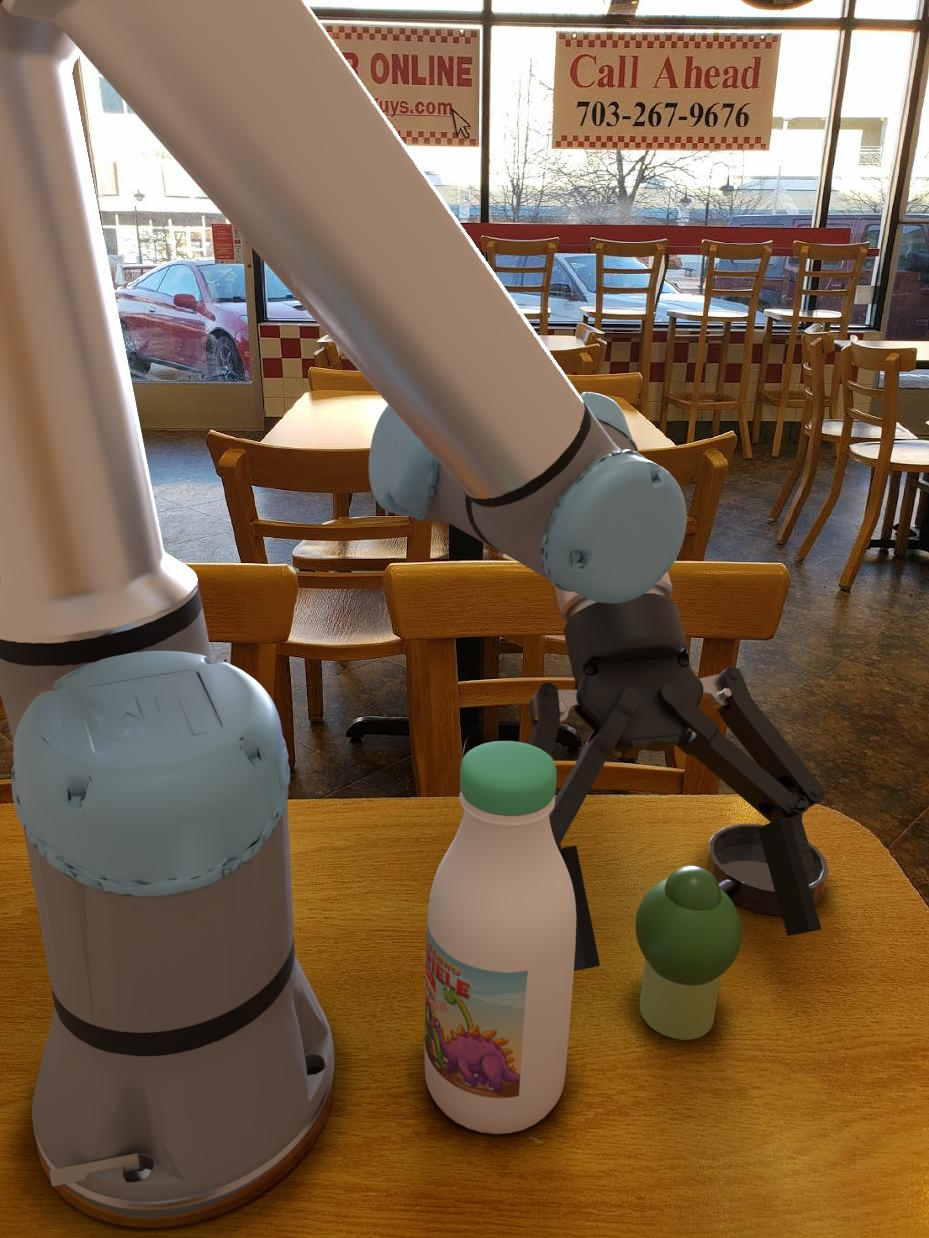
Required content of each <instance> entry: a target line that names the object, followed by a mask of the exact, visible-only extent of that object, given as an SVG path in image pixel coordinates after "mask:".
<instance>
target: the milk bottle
mask: <svg viewBox="0 0 929 1238" xmlns="http://www.w3.org/2000/svg"><path fill="white" fill-rule="evenodd" d="M459 769H460V771H459V788H460V792H459V802H460V805H461V807H462V809H463V814H462V819H461V821H460V824H459V826H458V828H457V829H458V830H457V832H456V834H455V836H454V839H453V840H452V842H451V844H450V845H449V847H448V849H447V850H446V852H445V854H444V856H443V858H442V859H441V862H440V863H439V865H438V868H437V870H436V873H435V875H434V878H433V881H432V885H431V888H430V892H429V893H430V894H429V899H428V906H427V916H426V917H427V918H426V934H425V935H426V937H425V977H424V978H425V981H424V983H425V984H424V985H425V986H424V1077H425V1082H426V1086H427V1088H428V1091H429V1093H430V1095H431V1098H432V1099H433V1100H434V1102H435V1104H436V1106H437V1107H438V1108H440V1110H441V1111H442V1112H443V1113H444V1115H446V1116H447V1117H448V1118H449V1119H451V1120H452V1121H454V1122H455V1123H456V1124H458V1125H461V1126H463V1127H465V1128H467V1129H468V1130H472V1131H476V1132H479V1133H484V1134H492V1135H501V1134H511V1133H516V1132H520V1131H523V1130H526V1129H528V1128H530V1127H532V1126H534V1125H536V1124H537V1123H539V1122H540V1121H541V1120H543V1119H545V1117H547V1115H549V1113H550V1112H551V1111H552V1110H553V1109H554V1107H555V1106H556V1104H557V1103H558V1102H559V1100H560V1098H561V1096H562V1093H563V1091H564V1085H565V1079H566V1071H567V1061H568V1050H569V1036H570V1025H571V1013H572V1012H571V1011H572V1000H573V998H572V997H573V987H574V986H573V985H574V984H573V983H574V972H575V971H574V959H575V944H576V905H575V896H574V890H573V885H572V882H571V878H570V875H569V872H568V870H567V867H566V865H565V862H564V860H563V858H562V856H561V854H560V852H559V850H558V847H557V845H556V843H555V840H554V837H553V833H552V830H551V825H550V820H549V814H550V813H551V811H552V810H553V808H554V805H555V799H556V797H555V794H556V789H557V782H558V781H557V779H558V778H557V777H558V776H557V773H558V772H557V766H556V763H555V760H554V759H553V757H552V755H551V756H550V755H549V754H547V753H546V752H544V751H543V750H541V749H539V748H537V747H535V746H532V745H529V744H527V743H526V742H521V741H515V740H497V741H489V742H485V743H481V744H480V745H476V746H475V747H473V748H472V749H470V750H468V751H467V752H466V753H465V755H464V756H463V757H462V760H461V763H460V768H459Z"/></svg>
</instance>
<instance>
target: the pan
mask: <svg viewBox="0 0 929 1238" xmlns="http://www.w3.org/2000/svg"><path fill="white" fill-rule="evenodd" d="M764 825H765V824H760V823H737V824H733V825H729V826H725V827H723V828H721V829H719V830H718V831H716V832H715V833H713V835H712V836H711V838H710V840H709V841H708V845H707V851H706V852H707V853H706V858H705V859H706V860H705V870H707V871H708V872H710V873H711V874H712V875H713V876H714V877H715V879H716V880H717V882H718V884H720V883H721V882H723V881H724V880H732V881H734V882H735V883H736V885H737V893H736V895H735V896H733V897H732V898H730V899H731V901H732V902H733V904H734V905H737V906H738V907H741V908H743V909H745V910H748V911H752V912H755V913H759V914H764V915H769V916H781V917H782V915H781V911H780V908H779V904H778V900H777V897H776V893H775V889H774V886H773V882H772V878H771V875H770V871H769V868H768V864H767V860H766V857H765V853H764V849H763V846H762V842H761V838H760V835H759V831H758V828H759V827H761V826H764ZM808 843H809V846H810V850H811V853H812V857H813V860H814V866H813V870H811V871H808V872H805V873H806V876H807V880H808V883H809V887H810V890H811V894H812V897H813V901H814V904H815V907H817V906H818V905H819V904H820V903H821V901H822V899H823V897H824V892H825V889H826V885H827V880H828V875H829V868H828V863H827V859H826V858H825V856H824V855H823V853H822V852H821V851H820V849H819V848H817V847H816V846H815V845H814V844H812V843H811V842H810V841H808Z"/></svg>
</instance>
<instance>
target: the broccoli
mask: <svg viewBox="0 0 929 1238" xmlns="http://www.w3.org/2000/svg"><path fill="white" fill-rule="evenodd" d="M634 924H635V930H634V931H635V937H636V941H637V944H638V947H639V949H640V951H641V953H642V955H643V957H644V965H643V973H642V983H641V988H640V989H641V991H640V997H639V1011H640V1014H641V1017H642V1018H643V1020H644V1021H645V1022H646V1024H647V1025H648V1026H649V1027H650V1028H651V1029H652V1030H654V1031H655V1032H657V1033H658V1034H660V1035H662V1036H664V1037H667V1038H670V1039H674V1040H680V1041H689V1040H690V1041H691V1040H695V1039H699V1038H701V1037H704V1036H705V1035H706V1034H708V1033H709V1032H710V1030H711V1029H712V1028H713V1025H714V1022H715V1015H716V1009H717V1003H718V998H719V991H720V984H721V978H722V975H723V974H725V973H726V972H727V971H728V970H729V969H730V968H731V966H733V964H734V962H735V961H736V959H737V957H738V954H739V952H740V949H741V944H742V937H743V932H742V931H743V930H742V929H743V928H742V923H741V918H740V915H739V912H738V910H737V907H736V906H735V903H733V902H732V901H731V899H730V898H729V897H728V896H727V894H726V893H725V892H724V891H723V890H722V889H720V886H719V884H718V882H717V880H716V879H715V877H714V876H713V875H712V874H711V873H710V872H708V871H707V870H706V868H703V867H700V866H698V865H684V866H681V867H679V868H677V869H675V870H673V872H672V873H670V875H669V876H668V877H666V878H664V879H662V880H660V881H659V882H657V883H656V884H655V885H653V886H651V888H649V890H648V891H647V892H646V893H645V894H644V896H643V898H642V899H641V901H640V902H639V905H638V907H637V910H636V916H635V923H634Z"/></svg>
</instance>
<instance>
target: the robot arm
mask: <svg viewBox="0 0 929 1238" xmlns="http://www.w3.org/2000/svg"><path fill="white" fill-rule="evenodd" d="M81 54H83V55H84V56H85V57H86V59H87V60H88V61H89V62H90V63H91V64H92V65H93V67H94V68H95V69H96V70H97V72H99V74H100V75H101V76H102V77H103V78H104V79H105V81H106V82H107V83H108V84H109V85H110V86H111V88H113V90H114V91H115V92H116V93H117V94H118V95H119V96H120V98H121V99H122V100H123V101H124V102H125V104H126V105H127V106H128V107H129V108H130V109H131V110H132V111H133V113H134V114H135V115H136V116H137V117H138V118H139V120H140V121H141V122H142V123H143V124H144V125H145V127H146V128H147V129H148V130H149V131H150V132H151V134H152V135H153V136H154V137H155V138H156V139H157V140H158V141H159V142H160V144H161V145H162V146H163V147H164V148H165V150H167V152H168V153H169V154H170V156H172V157H173V159H174V160H175V161H176V162H177V163H178V164H179V165H180V167H181V168H182V169H183V170H184V171H185V173H187V175H188V176H189V178H191V179H192V180H193V181H194V183H195V184H196V185H197V186H198V187H199V189H200V190H201V191H202V192H203V193H204V194H205V195H206V197H207V198H208V199H209V200H210V201H211V202H212V204H213V205H214V206H215V207H216V208H217V210H218V211H220V213H221V214H222V215H223V216H224V217H225V218H226V220H227V221H228V222H229V223H230V224H231V225H232V226H233V228H234V229H235V230H236V231H237V233H239V234H240V236H241V237H242V238H243V239H244V240H245V241H246V243H247V244H248V245H249V246H250V247H251V248H252V249H253V251H254V252H255V253H256V254H257V255H258V256H259V258H260V259H261V260H262V261H263V262H264V264H265V265H266V266H267V267H268V268H269V269H270V270H271V271H272V273H273V274H274V275H275V276H276V277H277V278H278V280H279V281H280V282H281V283H282V284H283V285H284V286H285V288H286V289H287V290H288V291H289V292H290V293H291V294H292V295H293V297H294V298H295V299H296V300H297V302H298V303H299V304H300V305H301V306H302V307H303V308H304V309H305V311H306V312H307V313H308V314H309V315H310V316H311V317H312V319H314V321H315V322H316V323H317V324H318V325H319V326H320V328H321V329H322V330H323V332H325V334H326V335H327V336H328V337H329V338H330V339H331V340H332V341H333V343H334V344H335V345H336V346H337V347H338V349H340V351H341V352H342V353H343V354H344V355H345V356H346V358H347V359H348V360H349V361H350V362H351V363H352V364H353V366H354V367H355V368H356V369H357V370H358V372H360V374H361V375H362V376H363V377H364V378H365V380H366V381H367V382H368V383H369V384H370V385H371V386H372V387H373V389H374V390H375V391H376V392H377V393H378V394H379V396H380V397H381V398H382V399H383V400H384V402H386V404H387V406H386V407H385V408H384V410H383V411H382V412H381V414H380V416H379V418H378V420H377V423H376V425H375V427H374V431H373V432H372V433H373V434H372V438H371V443H370V448H369V455H368V479H369V480H368V481H369V485H370V488H371V492H372V495H373V497H374V499H375V501H376V502H377V504H378V505H379V507H381V509H383V510H385V511H386V512H388V513H391V514H395V515H399V516H406V517H410V518H414V519H415V520H416V521H419V522H423V521H425V520H428V521H438V522H442V523H446V524H449V525H452V526H453V527H455V528H457V529H459V530H460V531H462V532H463V533H466V534H467V535H469V536H471V537H472V538H474V539H476V540H478V541H479V542H482V543H483V544H485V545H486V546H489V547H491V549H492V548H493V549H495V550H497V551H499V552H501V553H503V554H504V555H506V556H507V557H509V558H511V559H513V560H515V561H516V562H518V563H519V564H521V565H523V566H525V567H527V568H528V569H529V570H531V571H533V572H535V573H537V574H538V575H540V576H541V577H543V578H545V579H547V580H548V581H550V582H551V584H552V585H553V586H554V591H555V595H556V599H557V605H558V610H559V614H560V617H561V618H562V620H563V621H564V622H565V623H566V624H565V625H564V627H563V635H564V640H565V645H566V649H567V654H568V658H569V664H570V668H571V674H572V676H573V679H574V689H565V688H564V689H561V688H559V689H558V688H557V686H556V685H555V684H553V682H543V683H542V684H540V686H539V687H538V688H537V690H536V691H535V693H534V694H533V696H532V697H530V698H531V699H530V700H529V717H530V729H531V730H530V733H529V737H528V739H527V743H526V744H529V745H532V746H535V747H537V748H539V749H541V750H543V751H544V752H546V753H547V754H549V755H550V756H551V757H552V754H553V750H554V747H555V744H556V740H557V736H558V733H559V729H560V725H561V724H563V723H564V722H565V721H566V720H567V719H568V717H569V714H570V711H571V710H573V711H574V712H575V714H576V715H577V716H578V717H579V718H580V719H581V720H582V721H583V722H584V723H585V724H586V725H587V726H588V727H589V728H590V729H591V730H592V732H591V733H590V735H589V737H588V739H587V740H586V742H585V744H584V746H583V747H582V749H581V751H580V753H579V756H578V758H577V760H576V762H575V763H574V765H573V767H572V769H571V770H570V772H569V774H568V776H567V778H566V779H565V781H564V783H563V784H562V785H561V788H560V790H559V792H558V793H557V795H556V797H555V805H554V808H553V810H552V811H551V813H550V814H549V820H550V825H551V830H552V833H553V837H554V840H555V843H556V845H557V847H558V850H559V852H560V854H561V856H562V858H563V860H564V862H565V865H566V867H567V870H568V872H569V875H570V878H571V882H572V885H573V890H574V896H575V905H576V944H575V959H574V972H576V971H582V970H588V969H591V968H597V967H600V966H601V963H600V957H599V952H598V947H597V942H596V937H595V932H594V928H593V921H592V917H591V912H590V906H589V902H588V897H587V892H586V887H585V882H584V881H585V880H584V877H583V872H582V867H581V861H580V856H579V852H578V846H577V845H569V846H564V847H562V844H561V843H562V841H563V839H564V838H565V835H566V834H567V832H568V830H569V828H570V827H571V826H572V823H573V821H574V819H575V818H576V816H577V814H578V812H579V811H580V809H581V807H582V805H583V803H584V801H586V797H587V796H588V794H589V792H590V791H591V789H592V787H593V785H594V783H595V782H596V779H597V778H598V776H599V774H600V772H601V770H602V768H603V767H604V765H605V764H606V761H607V760H608V758H609V756H610V755H611V753H612V752H613V751H615V752H617V753H621V756H630V755H635V754H637V753H639V752H642V751H649V752H656V753H657V752H666V751H669V750H670V749H672V748H673V747H675V746H676V747H677V748H678V749H680V750H681V751H682V752H683V753H684V754H685V755H688V756H691V757H692V756H693V757H694V758H695V759H696V760H698V761H699V762H700V763H701V764H702V765H704V767H706V768H707V769H708V770H709V771H710V772H711V773H712V774H713V775H715V776H716V777H717V778H718V779H719V780H721V781H722V782H723V783H724V784H725V785H727V787H729V788H730V789H731V790H733V791H734V792H735V793H736V794H737V795H738V796H739V797H740V798H742V799H743V800H744V801H745V802H746V803H748V804H749V805H750V806H751V807H752V808H754V809H755V810H756V811H757V812H758V813H759V814H761V815H762V816H763V817H764V818H765V819H766V820H767V821H769V823H766V824H763V825H764V826H761V827H759V828H758V831H759V835H760V838H761V842H762V846H763V849H764V853H765V857H766V860H767V864H768V868H769V871H770V875H771V878H772V882H773V886H774V889H775V893H776V897H777V900H778V904H779V908H780V911H781V915H782V916H781V919H782V922H783V926H784V930H785V933H786V937H790V936H796V935H802V934H807V933H812V932H816V931H821V930H823V928H822V926H821V922H820V919H819V914H818V912H817V908H816V907H817V906H816V907H815V904H814V901H813V897H812V894H811V890H810V887H809V883H808V880H807V876H806V873H805V872H808V871H811V870H813V866H814V860H813V857H812V853H811V850H810V846H809V843H808V842H809V840H808V836H807V833H806V830H805V829H806V828H805V825H804V823H803V815H804V813H806V812H807V811H808V810H809V809H810V808H811V807H813V806H815V805H816V804H818V803H820V802H823V800H824V799H825V798H826V791H825V788H824V787H823V785H822V784H821V783H820V782H819V781H818V779H817V778H816V777H815V775H814V774H813V773H812V772H811V771H810V769H809V768H808V767H807V765H806V764H805V763H804V762H803V761H802V759H801V758H800V757H799V755H798V754H797V753H796V752H795V751H794V749H793V748H792V747H791V746H790V744H789V743H788V741H787V740H786V739H785V737H783V735H782V734H781V733H780V732H779V730H778V729H777V728H776V727H775V725H774V724H773V723H772V722H771V720H770V719H769V718H768V717H767V716H766V714H765V713H764V711H763V710H762V709H761V708H760V706H759V705H758V704H757V703H756V702H755V700H754V699H753V698H752V696H751V693H750V691H749V689H748V686H747V683H746V681H745V678H744V676H743V673H742V672H741V669H739V668H737V667H736V666H728V667H726V668H725V669H724V670H723V671H721V672H720V673H719V674H714V675H713V674H712V675H708V676H703V677H700V678H699V676H698V675H697V674H696V673H695V671H694V670H693V668H692V666H691V662H690V656H689V646H688V643H687V639H686V635H685V631H684V627H683V623H682V619H681V616H680V612H679V609H678V605H677V603H676V602H675V601H674V600H672V599H671V598H672V596H673V593H674V589H673V584H672V581H671V577H670V574H669V571H670V570H671V568H672V567H673V565H674V563H675V561H676V560H677V558H678V556H679V554H680V551H681V549H682V546H683V543H684V540H685V535H686V530H687V523H688V521H687V519H688V518H687V517H688V516H687V513H688V512H687V506H686V500H685V495H684V494H683V491H682V489H681V486H680V484H679V483H678V481H677V480H676V478H675V477H674V476H673V475H672V474H671V473H670V472H669V471H668V470H667V469H666V468H664V467H663V466H661V465H659V464H657V463H655V462H653V461H651V460H649V459H648V458H647V457H646V456H644V455H642V454H641V453H640V452H639V448H638V446H637V443H636V442H635V440H634V439H633V436H632V434H631V430H630V427H629V425H628V422H627V419H626V416H625V413H624V411H623V410H622V408H621V406H620V405H618V403H617V402H616V401H615V400H614V399H612V398H610V397H608V396H607V395H604V394H601V393H597V392H592V391H591V392H590V391H584V392H582V393H581V394H580V393H578V391H577V389H576V388H575V386H574V385H573V384H572V383H571V381H570V380H569V378H568V377H567V375H566V374H565V372H564V371H563V370H562V368H561V367H560V365H559V364H558V363H557V361H556V360H555V359H554V357H553V355H552V354H551V352H550V351H549V350H548V348H547V347H546V346H545V345H546V344H544V342H543V340H542V339H541V338H540V336H538V333H537V332H536V331H535V330H534V328H533V327H532V325H531V323H530V322H529V321H528V319H527V318H526V317H525V315H524V313H522V311H521V309H520V307H519V306H518V305H517V303H516V302H515V300H514V299H513V298H512V296H511V295H510V293H509V292H508V291H507V289H506V288H505V286H504V285H503V284H502V282H501V280H500V279H499V278H498V276H497V275H496V273H495V272H494V271H493V269H492V267H491V265H489V262H487V261H486V258H485V257H484V256H483V255H482V253H481V251H480V250H479V248H478V247H477V246H476V244H475V243H474V242H473V239H472V238H471V237H470V236H469V235H468V233H467V232H466V230H465V229H464V227H463V226H462V225H461V223H460V221H459V220H458V218H457V217H456V216H455V214H454V213H453V211H452V210H451V208H450V207H449V206H448V203H446V201H445V199H444V198H443V197H442V196H441V194H440V193H439V191H438V190H437V188H436V187H435V186H434V184H433V182H432V181H431V180H430V179H429V177H428V176H427V174H426V173H425V171H424V170H423V168H422V167H421V166H420V164H419V163H418V161H417V160H416V158H415V157H414V155H413V154H412V153H411V150H409V148H408V147H407V145H406V143H405V142H404V141H403V140H402V138H401V136H399V134H398V132H397V130H396V129H395V128H394V126H393V125H392V124H391V123H390V121H389V119H388V118H387V116H386V115H385V114H384V113H383V111H382V110H381V108H380V106H379V105H378V104H377V102H376V101H375V99H374V98H373V97H372V95H371V94H370V92H369V91H368V89H367V88H366V86H365V85H364V84H363V82H362V80H361V79H360V77H359V76H358V75H357V73H356V72H355V71H354V69H353V67H352V66H351V65H350V63H349V62H348V61H347V59H346V58H345V56H344V55H343V54H342V52H341V51H340V49H339V47H338V46H337V45H336V43H335V42H334V40H333V39H332V38H331V36H330V34H329V33H328V32H327V30H326V29H325V28H324V26H323V25H322V23H321V21H320V20H319V18H318V17H317V16H316V15H315V13H314V12H313V10H312V9H311V7H310V6H309V4H308V3H307V1H306V0H0V699H1V703H2V705H3V710H4V712H5V716H6V721H7V724H8V728H9V732H10V736H11V741H12V745H13V750H12V751H13V752H12V755H13V756H12V757H13V765H12V767H11V779H10V784H11V793H12V800H13V804H14V809H15V813H16V817H17V819H18V822H19V823H20V825H21V826H22V828H23V832H24V838H25V844H26V845H25V846H26V852H27V856H28V857H27V858H28V863H29V867H30V873H31V879H32V886H33V892H34V896H35V903H36V908H37V914H38V920H39V926H40V931H41V937H42V944H43V947H44V949H43V950H44V954H45V959H46V966H47V972H48V977H49V982H50V988H51V993H52V999H53V1007H54V1009H53V1012H52V1016H51V1021H50V1024H49V1028H48V1032H47V1037H46V1041H45V1045H44V1050H43V1053H42V1057H41V1062H40V1066H39V1070H38V1074H37V1078H36V1083H35V1086H34V1094H33V1097H32V1106H31V1107H32V1109H31V1110H32V1111H31V1117H32V1128H33V1133H34V1138H35V1143H36V1149H37V1153H38V1157H39V1161H40V1164H41V1166H42V1169H43V1172H44V1174H45V1176H46V1178H47V1179H48V1181H49V1183H50V1184H51V1187H53V1188H54V1190H56V1192H57V1193H58V1194H59V1195H60V1196H61V1197H62V1198H63V1199H64V1200H65V1201H66V1202H67V1203H69V1204H70V1205H72V1206H73V1207H75V1208H76V1209H77V1210H79V1211H81V1212H82V1213H84V1214H86V1215H88V1216H89V1217H92V1218H95V1219H98V1220H100V1221H103V1222H106V1223H110V1224H115V1225H118V1226H123V1227H125V1226H126V1227H129V1228H130V1227H131V1228H146V1229H154V1228H171V1227H178V1226H183V1225H189V1224H193V1223H197V1222H201V1221H205V1220H208V1219H211V1218H214V1217H217V1216H220V1215H222V1214H225V1213H227V1212H229V1211H232V1210H234V1209H236V1208H238V1207H240V1206H242V1205H244V1204H246V1203H247V1202H251V1200H253V1199H254V1198H256V1197H258V1196H259V1195H261V1194H263V1193H264V1192H266V1191H267V1190H269V1189H270V1188H271V1187H272V1186H274V1185H275V1184H276V1183H278V1182H279V1181H280V1180H281V1179H282V1178H283V1177H285V1176H286V1175H287V1174H288V1173H289V1172H290V1171H291V1170H292V1169H294V1168H295V1166H296V1165H297V1164H298V1163H299V1162H300V1161H301V1160H302V1159H303V1157H304V1156H305V1155H306V1154H307V1152H308V1151H309V1150H310V1149H311V1147H312V1146H313V1144H314V1143H315V1141H316V1140H317V1138H318V1136H319V1135H320V1133H321V1131H322V1130H323V1127H325V1126H324V1125H325V1123H326V1121H327V1118H328V1117H329V1114H330V1111H331V1107H332V1104H333V1099H334V1094H335V1091H336V1090H335V1089H336V1088H335V1087H336V1063H335V1062H336V1061H335V1059H336V1058H335V1056H336V1055H335V1043H334V1038H333V1033H332V1030H331V1027H330V1024H329V1022H328V1020H327V1017H326V1015H325V1013H324V1011H323V1009H322V1007H321V1003H319V1000H318V998H317V996H316V994H315V992H314V990H313V988H312V986H311V983H310V982H309V979H308V978H307V976H306V974H305V972H304V970H303V968H302V965H301V964H300V962H299V960H298V958H297V955H296V947H295V925H294V924H295V923H294V906H293V905H294V904H293V881H292V863H291V861H292V860H291V843H290V842H291V841H290V839H291V838H290V822H289V819H290V818H289V800H288V798H289V785H291V784H290V783H291V768H290V765H289V753H288V749H287V744H286V741H285V738H284V735H283V729H282V723H281V719H280V715H279V712H278V709H277V707H276V704H275V703H274V701H273V700H272V697H271V696H270V694H269V693H268V692H267V690H266V689H265V688H264V687H263V686H262V684H260V683H259V682H258V681H257V680H256V679H255V678H254V677H253V676H251V675H249V673H246V672H245V671H244V670H242V669H241V668H238V667H237V666H235V665H232V664H231V663H228V662H226V661H219V662H217V663H214V660H213V657H212V651H211V645H210V640H209V634H208V629H207V623H206V619H205V613H204V608H203V603H202V598H201V593H200V587H199V581H198V577H197V574H196V572H195V571H194V570H193V569H192V568H190V567H189V566H188V565H186V564H184V563H183V562H182V561H180V560H178V559H177V558H175V557H173V556H172V555H170V554H169V553H167V552H166V551H165V548H164V543H163V537H162V533H161V528H160V522H159V517H158V512H157V507H156V502H155V497H154V491H153V487H152V481H151V477H150V476H151V475H150V471H149V470H150V469H149V466H148V461H147V455H146V450H145V445H144V440H143V435H142V430H141V424H140V419H139V415H138V414H139V413H138V409H137V404H136V398H135V393H134V389H133V384H132V378H131V372H130V368H129V363H128V357H127V352H126V346H125V342H124V336H123V331H122V326H121V321H120V317H119V311H118V306H117V301H116V295H115V290H114V284H113V279H112V275H111V274H112V273H111V269H110V264H109V259H108V254H107V249H106V243H105V238H104V234H103V228H102V223H101V219H100V218H101V217H100V214H99V208H98V203H97V202H98V201H97V197H96V193H95V187H94V182H93V181H94V180H93V177H92V172H91V167H90V161H89V156H88V152H87V151H88V150H87V145H86V141H85V135H84V131H83V125H82V121H81V120H82V119H81V114H80V110H79V104H78V99H77V94H76V88H75V84H74V79H73V70H74V65H75V63H76V61H77V60H78V59H79V57H80V55H81ZM702 699H705V700H706V701H707V702H708V703H707V704H708V707H710V708H711V709H715V710H717V713H718V714H719V716H720V718H721V719H722V721H723V722H724V724H725V725H726V726H727V727H728V729H729V730H730V731H731V733H732V734H733V735H734V736H735V738H736V739H737V740H738V741H739V743H740V744H741V746H742V747H743V748H744V750H746V752H747V753H748V754H749V755H750V756H749V755H748V754H746V753H745V752H744V751H743V750H742V749H741V748H740V747H738V745H736V744H735V743H733V742H732V741H731V740H730V738H728V737H727V736H725V735H724V734H723V733H722V732H721V731H720V727H719V725H718V724H717V723H716V722H715V721H714V720H713V719H712V718H710V716H709V715H707V714H706V713H705V712H703V711H702V710H701V709H700V708H699V707H700V703H701V702H702Z"/></svg>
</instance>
